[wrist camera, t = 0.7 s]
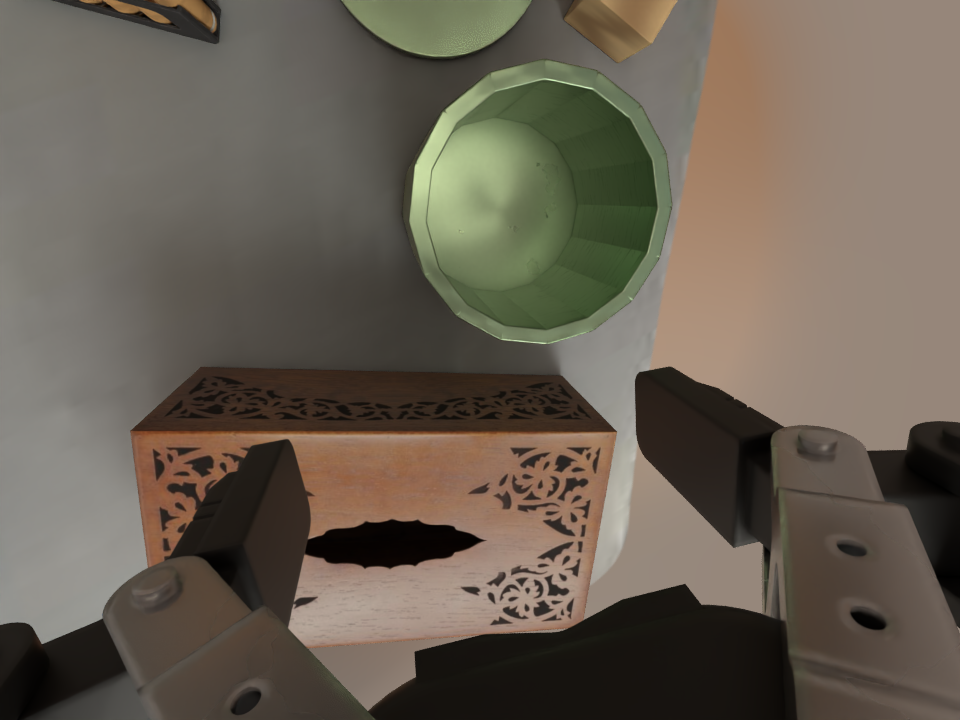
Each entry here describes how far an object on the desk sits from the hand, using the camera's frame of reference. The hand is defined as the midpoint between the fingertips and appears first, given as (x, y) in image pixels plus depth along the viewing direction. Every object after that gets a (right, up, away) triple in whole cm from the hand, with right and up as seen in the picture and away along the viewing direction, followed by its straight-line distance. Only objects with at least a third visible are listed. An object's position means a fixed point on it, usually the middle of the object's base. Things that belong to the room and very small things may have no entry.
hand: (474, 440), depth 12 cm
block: (+8, +24, +20) cm, 33 cm away
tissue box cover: (-7, -6, +27) cm, 29 cm away
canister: (+1, +12, +23) cm, 26 cm away
